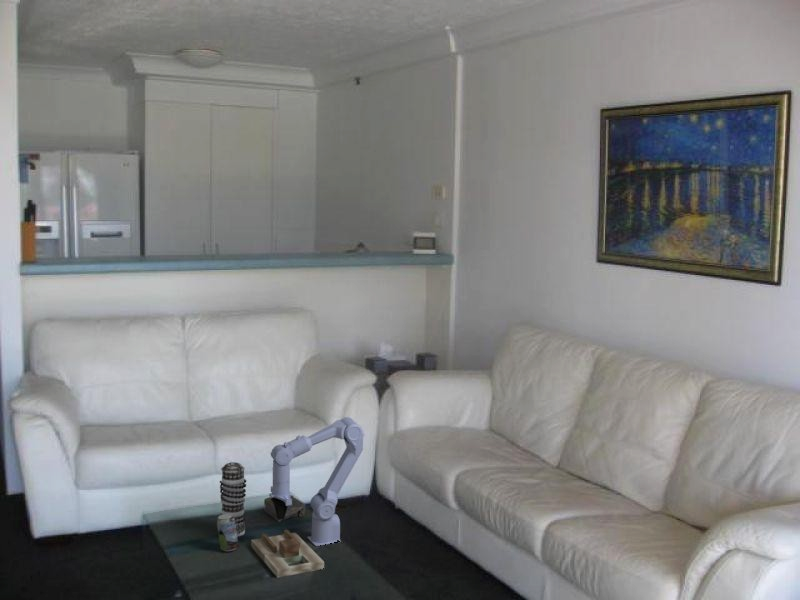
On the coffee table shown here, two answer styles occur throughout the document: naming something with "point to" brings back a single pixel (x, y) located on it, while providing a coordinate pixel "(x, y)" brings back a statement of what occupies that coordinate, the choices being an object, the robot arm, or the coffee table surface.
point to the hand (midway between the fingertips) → (280, 518)
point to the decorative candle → (233, 494)
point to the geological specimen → (292, 510)
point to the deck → (286, 566)
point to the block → (289, 548)
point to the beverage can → (227, 532)
